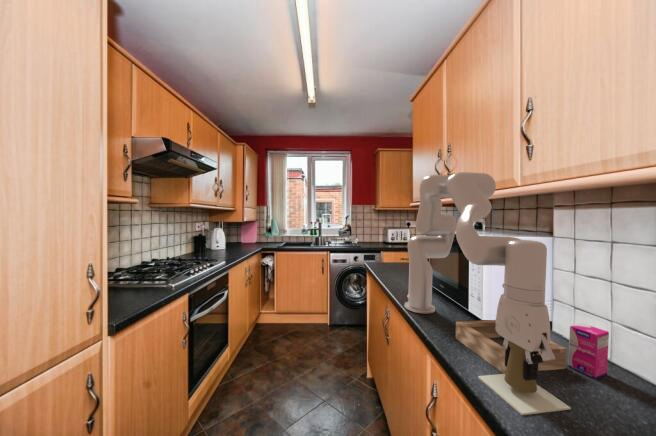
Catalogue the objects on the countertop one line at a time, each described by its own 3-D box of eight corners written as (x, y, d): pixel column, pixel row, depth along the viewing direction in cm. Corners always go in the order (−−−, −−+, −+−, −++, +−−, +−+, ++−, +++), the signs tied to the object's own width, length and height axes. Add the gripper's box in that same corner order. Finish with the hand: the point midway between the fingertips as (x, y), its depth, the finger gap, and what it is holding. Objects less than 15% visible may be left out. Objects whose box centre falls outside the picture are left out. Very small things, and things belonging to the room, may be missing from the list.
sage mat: (477, 377, 64) (477, 376, 64) (519, 374, 66) (519, 372, 66) (521, 415, 52) (521, 413, 52) (570, 409, 54) (570, 407, 54)
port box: (455, 338, 84) (455, 321, 84) (505, 335, 87) (505, 319, 87) (504, 374, 65) (504, 352, 65) (565, 368, 69) (566, 348, 68)
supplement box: (567, 366, 70) (568, 325, 69) (579, 362, 72) (581, 322, 71) (595, 379, 64) (597, 334, 64) (608, 374, 66) (609, 331, 66)
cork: (537, 397, 55) (539, 346, 54) (503, 384, 58) (505, 337, 58) (536, 382, 59) (538, 335, 59) (504, 372, 63) (506, 328, 63)
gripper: (481, 284, 66) (478, 353, 66) (546, 308, 50) (542, 400, 50) (506, 283, 67) (503, 352, 68) (578, 306, 51) (574, 397, 51)
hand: (520, 371), depth 59 cm, fingers closed on cork, 4 cm apart
